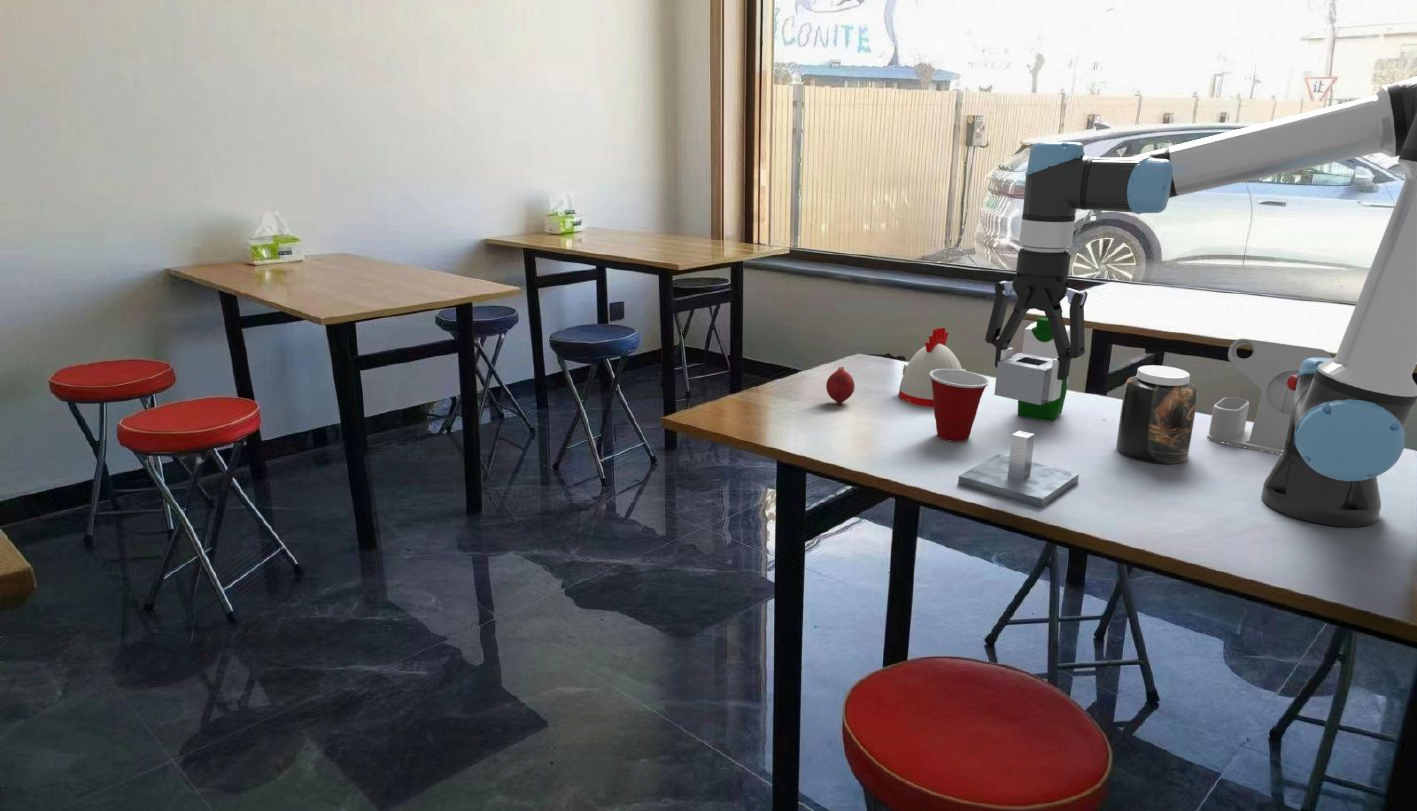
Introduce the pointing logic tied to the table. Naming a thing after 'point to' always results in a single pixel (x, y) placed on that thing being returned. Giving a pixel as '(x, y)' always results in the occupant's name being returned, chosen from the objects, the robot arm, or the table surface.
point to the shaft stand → (1019, 475)
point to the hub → (1024, 378)
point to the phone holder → (1276, 401)
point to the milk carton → (1043, 345)
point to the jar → (1157, 415)
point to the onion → (840, 385)
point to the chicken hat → (926, 369)
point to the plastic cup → (956, 401)
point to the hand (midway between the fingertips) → (1028, 393)
